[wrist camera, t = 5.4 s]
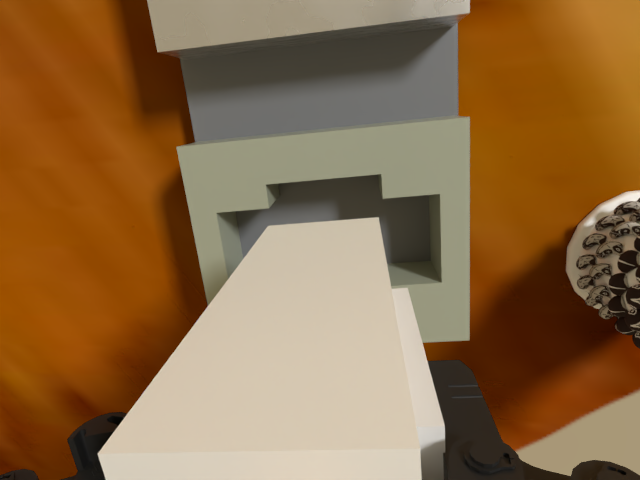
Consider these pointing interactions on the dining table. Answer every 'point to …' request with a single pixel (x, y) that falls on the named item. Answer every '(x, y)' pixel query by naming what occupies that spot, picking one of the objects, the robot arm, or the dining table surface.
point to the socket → (287, 22)
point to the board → (330, 119)
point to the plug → (283, 372)
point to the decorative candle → (609, 261)
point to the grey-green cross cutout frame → (338, 162)
